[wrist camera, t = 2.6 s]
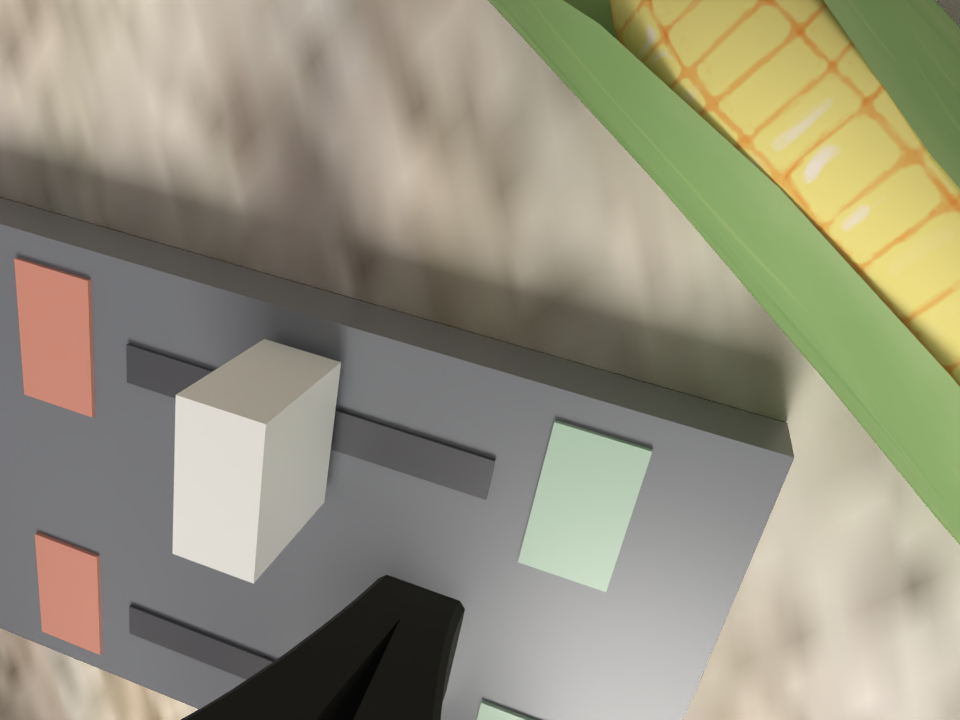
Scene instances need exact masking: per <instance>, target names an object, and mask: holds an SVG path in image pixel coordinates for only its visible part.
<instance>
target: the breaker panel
mask: <svg viewBox="0 0 960 720" xmlns="http://www.w3.org/2000/svg"><path fill="white" fill-rule="evenodd" d="M263 339H266V340H270V341H273V342H276V343H279V344H283V345H286V346H289V347H293V348H296V349H299V350H302V351H306V352H309V353H312V354H316V355H319V356H322V357H326V358H329V359H332V360H335V361H339V362H341V368H340V376H339V385H338V393H337V401H336V409H335V418H334V426H333V434H332V443H331V451H330V459H329V467H328V476H327V484H326V492H325V501H324V503H323V504H322V506H321V507H320V508H319V509H318V510H317V511H316V512H315V514H314V515H313V516H312V517H311V518H310V519H309V520H308V522H307V523H306V524H305V525H304V526H303V527H302V529H301V530H300V531H299V532H298V533H297V534H296V535H295V537H294V538H293V539H292V540H291V541H290V542H289V543H288V545H287V546H286V547H285V548H284V549H283V550H282V552H281V553H280V554H279V555H278V556H277V557H276V558H275V560H274V561H273V562H272V563H271V564H270V565H269V566H268V568H267V569H266V570H265V571H264V572H263V573H262V574H261V576H260V577H259V578H258V579H257V580H256V581H255V583H254V584H253V583H250V582H248V581H245V580H242V579H240V578H237V577H234V576H231V575H229V574H226V573H223V572H221V571H218V570H215V569H213V568H210V567H207V566H204V565H202V564H199V563H196V562H194V561H191V560H188V559H185V558H183V557H180V556H177V555H175V554H172V553H173V503H174V452H175V402H176V394H178V393H179V392H181V391H183V390H184V389H186V388H187V387H189V386H191V385H192V384H194V383H195V382H197V381H198V380H200V379H202V378H203V377H205V376H206V375H208V374H210V373H211V372H213V371H214V370H216V369H217V368H219V367H221V366H222V365H224V364H225V363H227V362H229V361H230V360H232V359H233V358H235V357H236V356H238V355H240V354H241V353H243V352H244V351H246V350H248V349H249V348H251V347H252V346H254V345H256V344H257V343H259V342H260V341H262V340H263ZM793 459H794V454H793V449H792V444H791V439H790V434H789V430H788V425H787V423H785V422H782V421H778V420H775V419H771V418H768V417H764V416H761V415H757V414H754V413H750V412H747V411H743V410H740V409H736V408H733V407H729V406H726V405H722V404H719V403H715V402H712V401H708V400H705V399H701V398H698V397H694V396H691V395H687V394H684V393H680V392H677V391H673V390H670V389H666V388H663V387H659V386H656V385H653V384H649V383H646V382H642V381H639V380H635V379H632V378H628V377H625V376H621V375H618V374H614V373H611V372H607V371H604V370H600V369H597V368H593V367H590V366H586V365H583V364H579V363H576V362H572V361H569V360H565V359H562V358H558V357H555V356H551V355H548V354H544V353H541V352H537V351H534V350H530V349H527V348H523V347H520V346H516V345H513V344H509V343H506V342H502V341H499V340H496V339H492V338H489V337H485V336H482V335H478V334H475V333H471V332H468V331H464V330H461V329H457V328H454V327H450V326H447V325H443V324H440V323H436V322H433V321H429V320H426V319H422V318H419V317H415V316H412V315H408V314H405V313H401V312H398V311H394V310H391V309H387V308H384V307H380V306H377V305H373V304H370V303H366V302H363V301H359V300H356V299H352V298H349V297H345V296H342V295H339V294H335V293H332V292H328V291H325V290H321V289H318V288H314V287H311V286H307V285H304V284H300V283H297V282H293V281H290V280H286V279H283V278H279V277H276V276H272V275H269V274H265V273H262V272H258V271H255V270H251V269H248V268H244V267H241V266H237V265H234V264H230V263H227V262H223V261H220V260H216V259H213V258H209V257H206V256H202V255H199V254H195V253H192V252H188V251H185V250H182V249H178V248H175V247H171V246H168V245H164V244H161V243H157V242H154V241H150V240H147V239H143V238H140V237H136V236H133V235H129V234H126V233H122V232H119V231H115V230H112V229H108V228H105V227H101V226H98V225H94V224H91V223H87V222H84V221H80V220H77V219H73V218H70V217H66V216H63V215H59V214H56V213H52V212H49V211H45V210H42V209H38V208H35V207H31V206H28V205H25V204H21V203H18V202H14V201H11V200H7V199H4V198H0V628H2V629H4V630H6V631H9V632H11V633H14V634H16V635H19V636H21V637H24V638H26V639H28V640H31V641H33V642H36V643H38V644H41V645H43V646H46V647H48V648H50V649H53V650H55V651H58V652H60V653H63V654H65V655H68V656H70V657H73V658H75V659H77V660H80V661H82V662H85V663H87V664H90V665H92V666H95V667H97V668H99V669H102V670H104V671H107V672H109V673H112V674H114V675H117V676H119V677H121V678H124V679H126V680H129V681H131V682H134V683H136V684H139V685H141V686H144V687H146V688H148V689H151V690H153V691H156V692H158V693H161V694H163V695H166V696H168V697H170V698H173V699H175V700H178V701H180V702H183V703H185V704H188V705H190V706H192V707H195V708H197V709H201V708H202V707H204V706H206V705H207V704H209V703H211V702H212V701H214V700H216V699H217V698H219V697H221V696H222V695H224V694H225V693H227V692H229V691H230V690H232V689H233V688H235V687H236V686H238V685H239V684H241V683H242V682H244V681H245V680H247V679H248V678H250V677H251V676H253V675H254V674H256V673H257V672H259V671H260V670H262V669H263V668H265V667H266V666H268V665H269V664H271V663H272V662H274V661H275V660H277V659H278V658H280V657H281V656H282V655H284V654H285V653H287V652H288V651H289V650H291V649H292V648H293V647H295V646H296V645H297V644H299V643H300V642H301V641H303V640H304V639H305V638H307V637H308V636H309V635H311V634H312V633H313V632H315V631H316V630H317V629H319V628H320V627H321V626H323V625H324V624H325V623H326V622H328V621H329V620H330V619H331V618H333V617H334V616H335V615H336V614H338V613H339V612H340V611H341V610H343V609H344V608H345V607H346V606H347V605H349V604H350V603H351V602H352V601H353V600H355V599H356V598H357V597H358V596H359V595H360V594H361V593H363V592H364V591H365V590H366V589H367V588H368V587H370V586H371V585H372V584H373V583H374V582H375V581H376V580H377V579H378V578H380V577H382V576H385V575H389V576H392V577H395V578H398V579H400V580H403V581H406V582H409V583H412V584H414V585H417V586H420V587H423V588H426V589H428V590H431V591H434V592H437V593H440V594H442V595H445V596H448V597H451V598H453V599H456V600H459V601H460V602H461V603H462V605H463V607H464V608H465V612H464V616H463V621H462V625H461V629H460V634H459V638H458V642H457V647H456V651H455V655H454V660H453V664H452V668H451V673H450V677H449V681H448V686H447V690H446V694H445V697H444V700H443V703H442V711H441V720H684V717H685V715H686V713H687V710H688V708H689V706H690V703H691V701H692V699H693V696H694V694H695V691H696V689H697V687H698V684H699V682H700V680H701V677H702V675H703V672H704V670H705V668H706V665H707V663H708V661H709V658H710V656H711V654H712V651H713V649H714V646H715V644H716V642H717V639H718V637H719V635H720V632H721V630H722V627H723V625H724V623H725V620H726V618H727V616H728V613H729V611H730V609H731V606H732V604H733V601H734V599H735V597H736V594H737V592H738V590H739V587H740V585H741V582H742V580H743V578H744V575H745V573H746V571H747V568H748V566H749V564H750V561H751V559H752V556H753V554H754V552H755V549H756V547H757V545H758V542H759V540H760V537H761V535H762V533H763V530H764V528H765V526H766V523H767V521H768V519H769V516H770V514H771V511H772V509H773V507H774V504H775V502H776V500H777V497H778V495H779V493H780V490H781V488H782V485H783V483H784V481H785V478H786V476H787V474H788V471H789V469H790V466H791V464H792V462H793Z"/></svg>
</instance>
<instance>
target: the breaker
mask: <svg viewBox="0 0 960 720" xmlns="http://www.w3.org/2000/svg"><path fill="white" fill-rule="evenodd" d="M340 368H341V362H339V361H335V360H332V359H329V358H326V357H322V356H319V355H316V354H312V353H309V352H306V351H302V350H299V349H296V348H293V347H289V346H286V345H283V344H279V343H276V342H273V341H270V340H266V339H263V340H262V341H260V342H259V343H257V344H256V345H254V346H252V347H251V348H249V349H248V350H246V351H244V352H243V353H241V354H240V355H238V356H236V357H235V358H233V359H232V360H230V361H229V362H227V363H225V364H224V365H222V366H221V367H219V368H217V369H216V370H214V371H213V372H211V373H210V374H208V375H206V376H205V377H203V378H202V379H200V380H198V381H197V382H195V383H194V384H192V385H191V386H189V387H187V388H186V389H184V390H183V391H181V392H179V393H178V394H176V402H175V452H174V503H173V553H172V554H175V555H177V556H180V557H183V558H185V559H188V560H191V561H194V562H196V563H199V564H202V565H204V566H207V567H210V568H213V569H215V570H218V571H221V572H223V573H226V574H229V575H231V576H234V577H237V578H240V579H242V580H245V581H248V582H250V583H253V584H254V583H255V581H256V580H257V579H258V578H259V577H260V576H261V574H262V573H263V572H264V571H265V570H266V569H267V568H268V566H269V565H270V564H271V563H272V562H273V561H274V560H275V558H276V557H277V556H278V555H279V554H280V553H281V552H282V550H283V549H284V548H285V547H286V546H287V545H288V543H289V542H290V541H291V540H292V539H293V538H294V537H295V535H296V534H297V533H298V532H299V531H300V530H301V529H302V527H303V526H304V525H305V524H306V523H307V522H308V520H309V519H310V518H311V517H312V516H313V515H314V514H315V512H316V511H317V510H318V509H319V508H320V507H321V506H322V504H323V503H324V501H325V492H326V484H327V476H328V467H329V459H330V451H331V443H332V434H333V426H334V418H335V409H336V401H337V393H338V385H339V376H340Z"/></svg>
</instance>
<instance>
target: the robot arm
mask: <svg viewBox="0 0 960 720" xmlns="http://www.w3.org/2000/svg"><path fill="white" fill-rule="evenodd" d="M464 612H465V608H464V607H463V605H462V603H461V602H460V601H459V600H456V599H453V598H451V597H448V596H445V595H442V594H440V593H437V592H434V591H431V590H428V589H426V588H423V587H420V586H417V585H414V584H412V583H409V582H406V581H403V580H400V579H398V578H395V577H392V576H389V575H385V576H382V577H380V578H378V579H377V580H376V581H375V582H374V583H373V584H372V585H371V586H370V587H368V588H367V589H366V590H365V591H364V592H363V593H361V594H360V595H359V596H358V597H357V598H356V599H355V600H353V601H352V602H351V603H350V604H349V605H347V606H346V607H345V608H344V609H343V610H341V611H340V612H339V613H338V614H336V615H335V616H334V617H333V618H331V619H330V620H329V621H328V622H326V623H325V624H324V625H323V626H321V627H320V628H319V629H317V630H316V631H315V632H313V633H312V634H311V635H309V636H308V637H307V638H305V639H304V640H303V641H301V642H300V643H299V644H297V645H296V646H295V647H293V648H292V649H291V650H289V651H288V652H287V653H285V654H284V655H282V656H281V657H280V658H278V659H277V660H275V661H274V662H272V663H271V664H269V665H268V666H266V667H265V668H263V669H262V670H260V671H259V672H257V673H256V674H254V675H253V676H251V677H250V678H248V679H247V680H245V681H244V682H242V683H241V684H239V685H238V686H236V687H235V688H233V689H232V690H230V691H229V692H227V693H225V694H224V695H222V696H221V697H219V698H217V699H216V700H214V701H212V702H211V703H209V704H207V705H206V706H204V707H202V708H201V709H199V710H197V711H196V712H194V713H192V714H190V715H188V716H187V717H185V718H183V719H181V720H441V711H442V703H443V700H444V697H445V694H446V690H447V686H448V681H449V677H450V673H451V668H452V664H453V660H454V655H455V651H456V647H457V642H458V638H459V634H460V629H461V625H462V621H463V616H464Z"/></svg>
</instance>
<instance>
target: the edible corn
mask: <svg viewBox="0 0 960 720" xmlns="http://www.w3.org/2000/svg"><path fill="white" fill-rule="evenodd" d="M489 2H490V3H491V4H492V5H493V6H494V7H495V8H496V9H497V10H498V11H499V12H500V14H501V15H502V16H503V17H504V18H505V19H506V20H507V21H508V22H509V23H510V24H511V25H512V27H513V28H514V29H515V30H516V31H517V32H518V33H519V34H520V35H521V36H522V37H523V39H524V40H525V41H526V42H527V43H528V44H529V45H530V46H531V47H532V48H533V49H534V50H535V52H536V53H537V54H538V55H539V56H540V57H541V58H542V59H543V60H544V61H545V62H546V64H547V65H548V66H549V67H550V68H551V69H552V70H553V71H554V72H555V73H556V74H557V75H558V77H559V78H560V79H561V80H562V81H563V82H564V83H565V84H566V85H567V86H568V87H569V89H570V90H571V91H572V92H573V93H574V94H575V95H576V96H577V97H578V98H579V99H580V100H581V102H582V103H583V104H584V105H585V106H586V107H587V108H588V109H589V110H590V111H591V112H592V114H593V115H594V116H595V117H596V118H597V119H598V120H599V121H600V122H601V123H602V124H603V125H604V127H605V128H606V129H607V130H608V131H609V132H610V133H611V134H612V135H613V136H614V137H615V139H616V140H617V141H618V142H619V143H620V144H621V145H622V146H623V147H624V148H625V149H626V150H627V152H628V153H629V154H630V155H631V156H632V157H633V158H634V159H635V160H636V161H637V162H638V164H639V165H640V166H641V167H642V168H643V169H644V170H645V171H646V172H647V173H648V174H649V175H650V177H651V178H652V179H653V180H654V181H655V182H656V183H657V184H658V185H659V186H660V187H661V189H662V190H663V191H664V192H665V193H666V194H667V196H668V197H669V198H670V199H671V200H672V201H673V203H674V204H675V205H676V206H677V207H678V209H679V210H680V211H681V212H682V213H683V214H684V216H685V217H686V218H687V219H688V220H689V221H690V223H691V224H692V225H693V226H694V227H695V228H696V230H697V231H698V232H699V233H700V234H701V235H702V237H703V238H704V239H705V240H706V241H707V243H708V244H709V245H710V246H711V247H712V248H713V250H714V251H715V252H716V253H717V254H718V255H719V257H720V258H721V259H722V260H723V261H724V262H725V264H726V265H727V266H728V267H729V268H730V270H731V271H732V272H733V273H734V274H735V275H736V277H737V278H738V279H739V280H740V281H741V282H742V284H743V285H744V286H745V287H746V288H747V289H748V291H749V292H750V293H751V294H752V295H753V296H754V298H755V299H756V300H757V301H758V302H759V304H760V305H761V306H762V307H763V308H764V309H765V311H766V312H767V313H768V314H769V315H770V316H771V318H772V319H773V320H774V321H775V322H776V323H777V325H778V326H779V327H780V328H781V329H782V331H783V332H784V333H785V334H786V335H787V336H788V338H789V339H790V340H791V341H792V342H793V343H794V345H795V346H796V347H797V348H798V349H799V350H800V352H801V353H802V354H803V355H804V356H805V357H806V359H807V360H808V361H809V362H810V363H811V365H812V366H813V367H814V368H815V369H816V370H817V372H818V373H819V374H820V375H821V376H822V378H823V379H824V380H825V381H826V382H827V384H828V385H829V386H830V387H831V389H832V390H833V391H834V392H835V394H836V395H837V396H838V397H839V398H840V400H841V401H842V402H843V403H844V405H845V406H846V407H847V408H848V410H849V411H850V412H851V413H852V414H853V416H854V417H855V418H856V419H857V421H858V422H859V423H860V424H861V426H862V427H863V428H864V429H865V430H866V432H867V433H868V434H869V435H870V437H871V438H872V439H873V440H874V442H875V443H876V444H877V445H878V446H879V448H880V449H881V450H882V451H883V453H884V454H885V455H886V456H887V458H888V459H889V460H890V461H891V462H892V464H893V465H894V466H895V467H896V469H897V470H898V471H899V472H900V474H901V475H902V476H903V477H904V478H905V480H906V481H907V482H908V483H909V485H910V486H911V487H912V488H913V490H914V491H915V492H916V493H917V494H918V496H919V497H920V498H921V499H922V501H923V502H924V503H925V504H926V506H927V507H928V508H929V509H930V510H931V512H932V513H933V514H934V515H935V517H936V518H937V519H938V520H939V522H940V523H941V524H942V525H943V526H944V527H945V528H946V529H947V530H948V532H949V533H950V534H951V535H952V536H953V537H954V538H955V539H956V541H957V542H958V543H959V544H960V27H959V26H958V25H957V24H956V23H955V22H954V21H953V20H952V18H951V17H950V16H949V15H948V14H947V13H946V12H945V11H944V10H943V9H942V8H941V7H940V6H939V4H938V3H937V2H936V1H935V0H489Z"/></svg>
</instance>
